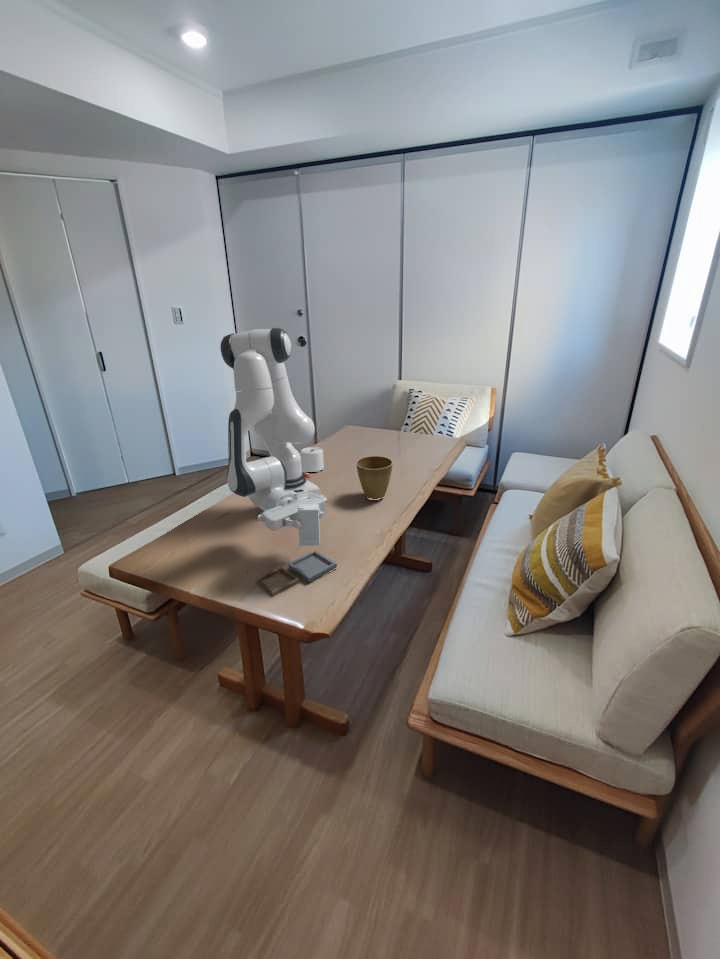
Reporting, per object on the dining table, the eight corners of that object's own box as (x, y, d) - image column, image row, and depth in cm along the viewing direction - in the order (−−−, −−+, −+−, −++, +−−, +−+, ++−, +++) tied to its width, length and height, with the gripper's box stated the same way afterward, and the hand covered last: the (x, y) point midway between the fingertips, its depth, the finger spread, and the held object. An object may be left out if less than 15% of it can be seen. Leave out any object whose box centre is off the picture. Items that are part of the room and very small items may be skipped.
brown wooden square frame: (281, 569, 131) (281, 566, 130) (299, 582, 125) (299, 578, 124) (256, 582, 125) (255, 579, 125) (273, 596, 119) (273, 592, 119)
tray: (315, 555, 138) (314, 550, 137) (336, 568, 131) (336, 563, 130) (288, 569, 131) (288, 563, 130) (309, 583, 124) (309, 578, 123)
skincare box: (320, 539, 129) (319, 503, 125) (319, 546, 125) (319, 509, 121) (300, 539, 129) (298, 503, 125) (298, 546, 125) (297, 509, 121)
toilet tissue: (327, 466, 213) (326, 447, 209) (319, 475, 202) (317, 455, 198) (307, 464, 215) (305, 446, 211) (298, 473, 204) (296, 453, 200)
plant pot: (364, 488, 187) (363, 454, 181) (396, 493, 182) (397, 458, 176) (351, 502, 174) (350, 466, 168) (385, 507, 169) (386, 470, 163)
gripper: (253, 507, 125) (280, 523, 116) (308, 487, 138) (336, 500, 129) (255, 525, 127) (282, 543, 118) (309, 504, 141) (337, 518, 131)
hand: (310, 520), depth 124 cm, fingers closed on skincare box, 7 cm apart
